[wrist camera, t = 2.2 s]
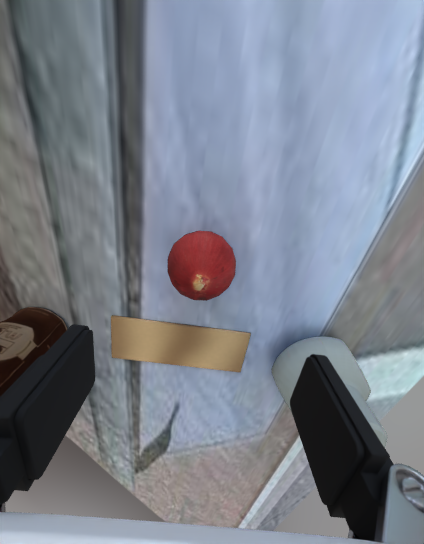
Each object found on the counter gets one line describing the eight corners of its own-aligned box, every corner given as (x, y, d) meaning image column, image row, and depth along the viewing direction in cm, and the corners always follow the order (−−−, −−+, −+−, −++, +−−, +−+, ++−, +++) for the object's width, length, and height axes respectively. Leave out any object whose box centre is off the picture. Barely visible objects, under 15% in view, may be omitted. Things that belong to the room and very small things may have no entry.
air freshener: (259, 344, 28) (283, 428, 19) (325, 314, 26) (386, 390, 17) (295, 398, 32) (329, 490, 23) (354, 375, 30) (417, 464, 21)
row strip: (112, 355, 29) (111, 357, 28) (111, 315, 26) (111, 316, 26) (240, 370, 30) (240, 372, 29) (250, 332, 27) (250, 334, 27)
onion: (228, 279, 25) (236, 326, 17) (174, 276, 24) (158, 322, 17) (234, 224, 22) (246, 251, 15) (174, 220, 22) (156, 245, 15)
